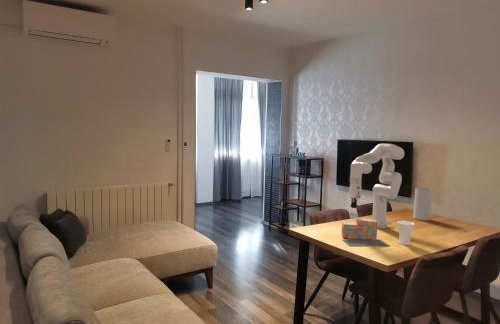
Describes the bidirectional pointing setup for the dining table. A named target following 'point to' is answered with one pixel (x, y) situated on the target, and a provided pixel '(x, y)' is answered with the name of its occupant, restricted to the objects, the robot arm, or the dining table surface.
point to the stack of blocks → (360, 229)
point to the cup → (405, 231)
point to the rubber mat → (366, 242)
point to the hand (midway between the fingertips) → (353, 207)
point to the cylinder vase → (422, 204)
